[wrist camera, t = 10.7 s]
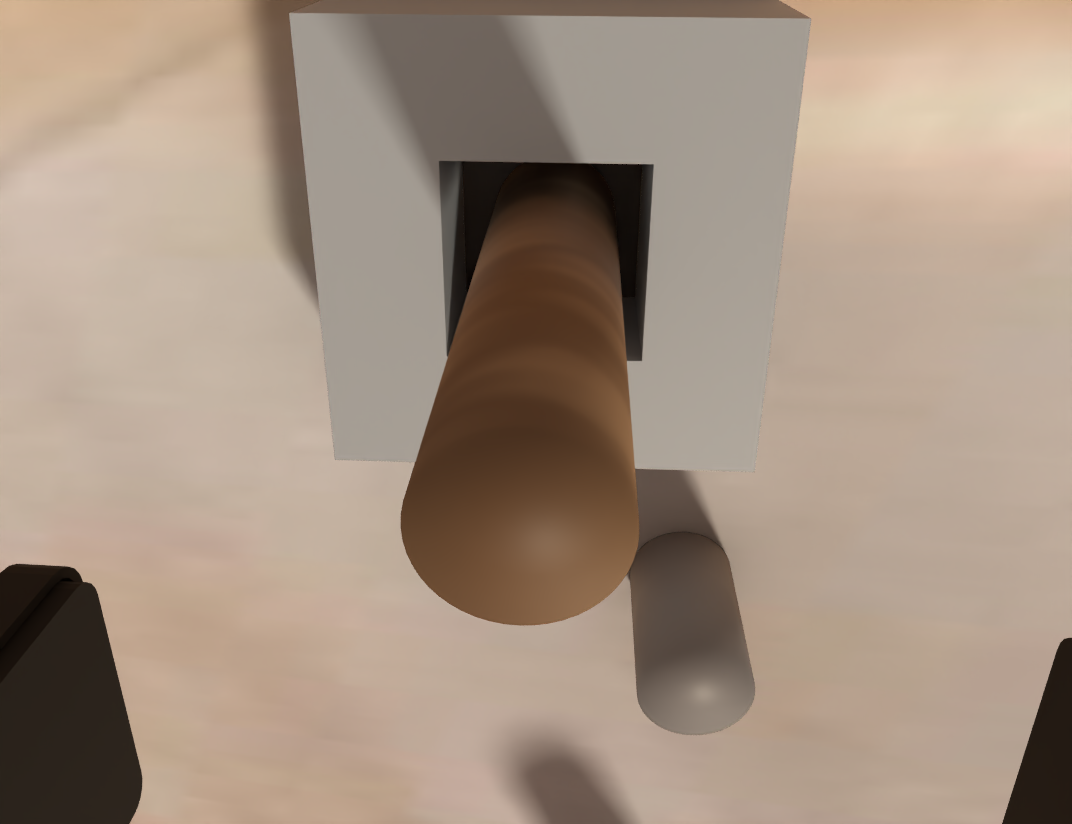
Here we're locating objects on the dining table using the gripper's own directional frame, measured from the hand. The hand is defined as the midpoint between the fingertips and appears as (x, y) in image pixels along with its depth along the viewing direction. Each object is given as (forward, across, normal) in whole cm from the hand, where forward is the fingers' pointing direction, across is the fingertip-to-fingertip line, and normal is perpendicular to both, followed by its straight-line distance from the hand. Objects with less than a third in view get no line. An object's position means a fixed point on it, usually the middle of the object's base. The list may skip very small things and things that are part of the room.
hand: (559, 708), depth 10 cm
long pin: (+17, +1, 0) cm, 17 cm away
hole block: (+17, +1, 0) cm, 17 cm away
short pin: (+17, -3, +11) cm, 20 cm away
